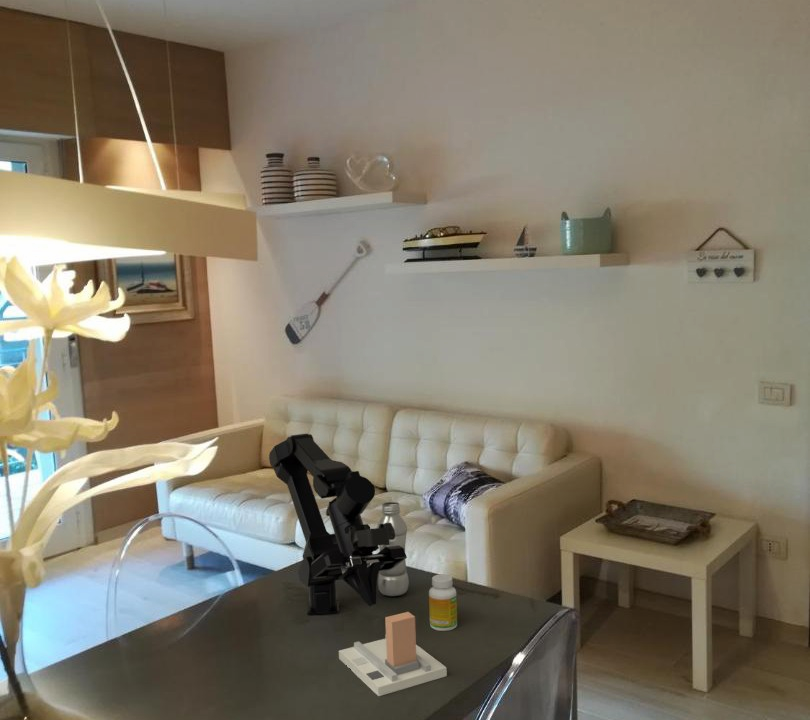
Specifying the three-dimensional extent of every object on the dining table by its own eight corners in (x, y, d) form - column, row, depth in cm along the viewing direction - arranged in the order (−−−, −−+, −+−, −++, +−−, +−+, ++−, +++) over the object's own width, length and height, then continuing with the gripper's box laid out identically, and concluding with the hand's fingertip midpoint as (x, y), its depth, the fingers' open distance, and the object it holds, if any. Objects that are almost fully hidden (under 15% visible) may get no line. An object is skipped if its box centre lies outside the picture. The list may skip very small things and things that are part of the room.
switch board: (339, 658, 146) (338, 645, 146) (402, 641, 152) (402, 628, 152) (378, 696, 132) (377, 681, 132) (446, 676, 138) (446, 661, 138)
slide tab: (385, 666, 139) (383, 615, 139) (407, 659, 141) (405, 610, 141) (395, 675, 136) (394, 624, 135) (418, 669, 138) (417, 618, 137)
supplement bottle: (455, 632, 156) (453, 583, 155) (427, 631, 157) (426, 582, 156) (459, 621, 161) (457, 573, 160) (432, 619, 162) (430, 572, 161)
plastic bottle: (381, 588, 180) (377, 500, 178) (411, 588, 179) (408, 500, 177) (375, 599, 174) (372, 508, 172) (407, 600, 173) (404, 508, 171)
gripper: (329, 509, 144) (355, 593, 136) (409, 505, 156) (436, 582, 148) (299, 537, 151) (322, 618, 143) (377, 531, 163) (402, 606, 155)
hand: (373, 605), depth 147 cm, fingers closed
